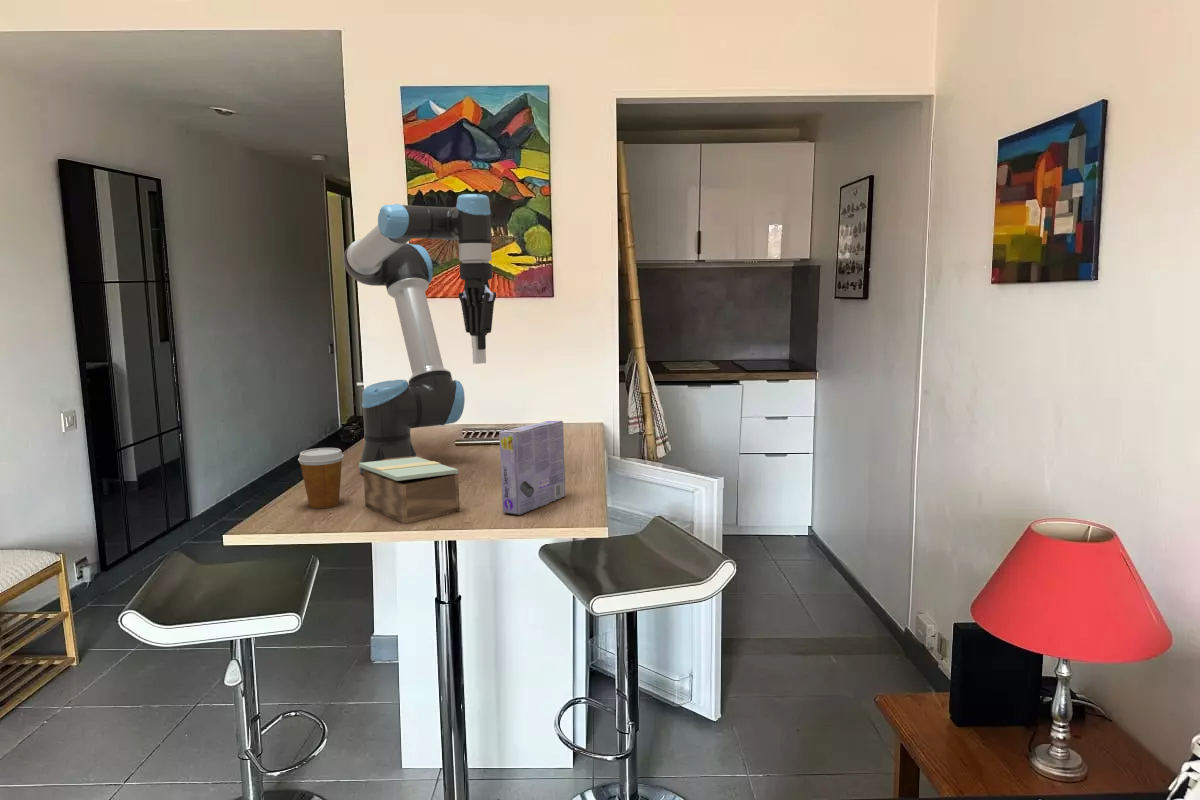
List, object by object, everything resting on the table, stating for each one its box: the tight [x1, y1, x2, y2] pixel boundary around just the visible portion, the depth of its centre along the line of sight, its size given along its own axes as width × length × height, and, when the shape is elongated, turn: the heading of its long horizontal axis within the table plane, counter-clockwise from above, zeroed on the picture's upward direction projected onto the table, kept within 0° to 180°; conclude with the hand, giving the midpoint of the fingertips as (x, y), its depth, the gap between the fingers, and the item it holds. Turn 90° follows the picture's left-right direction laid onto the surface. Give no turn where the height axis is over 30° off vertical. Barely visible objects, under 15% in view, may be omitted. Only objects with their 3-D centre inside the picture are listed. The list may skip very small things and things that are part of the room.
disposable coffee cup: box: [297, 447, 345, 509], centre depth 175 cm, size 10×10×12 cm
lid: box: [358, 457, 459, 481], centre depth 169 cm, size 18×14×1 cm
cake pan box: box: [498, 420, 566, 516], centre depth 172 cm, size 19×5×18 cm, turn 149°
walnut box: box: [363, 470, 461, 525], centre depth 170 cm, size 18×13×8 cm
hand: (479, 363), depth 188 cm, fingers closed
